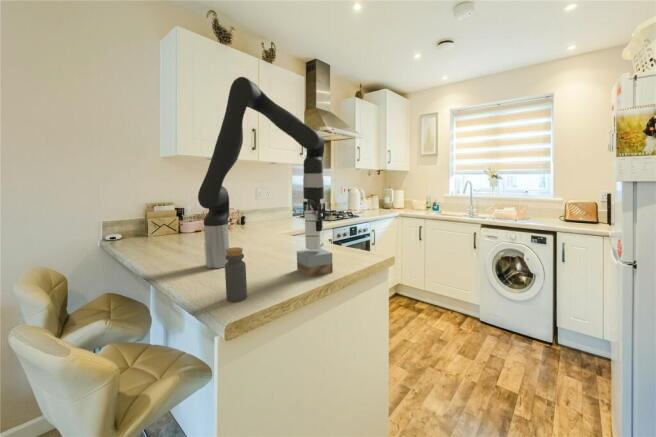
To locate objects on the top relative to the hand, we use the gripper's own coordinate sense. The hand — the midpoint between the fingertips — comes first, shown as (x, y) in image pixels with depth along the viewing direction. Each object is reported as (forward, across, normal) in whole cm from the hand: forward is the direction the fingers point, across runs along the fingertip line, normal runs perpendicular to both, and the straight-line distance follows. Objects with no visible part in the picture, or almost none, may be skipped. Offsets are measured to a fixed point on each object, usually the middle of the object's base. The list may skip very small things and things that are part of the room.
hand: (314, 229), depth 113 cm
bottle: (+17, +12, -32) cm, 38 cm away
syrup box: (+7, 0, 0) cm, 7 cm away
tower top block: (+13, 0, 0) cm, 13 cm away
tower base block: (+17, 0, 0) cm, 17 cm away
